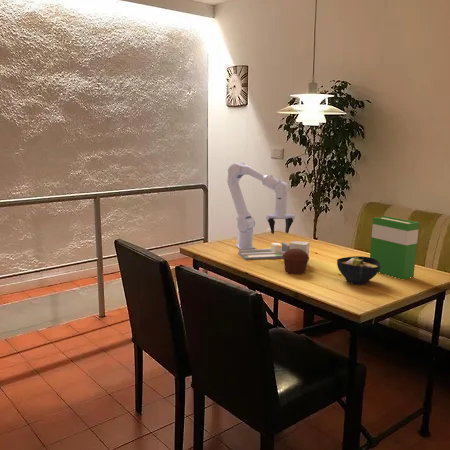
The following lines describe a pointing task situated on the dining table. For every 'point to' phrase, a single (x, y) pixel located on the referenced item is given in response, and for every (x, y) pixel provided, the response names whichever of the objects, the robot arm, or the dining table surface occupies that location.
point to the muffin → (295, 261)
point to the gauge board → (263, 253)
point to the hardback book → (394, 246)
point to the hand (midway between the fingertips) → (279, 233)
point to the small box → (300, 246)
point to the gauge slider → (276, 247)
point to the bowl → (358, 269)
